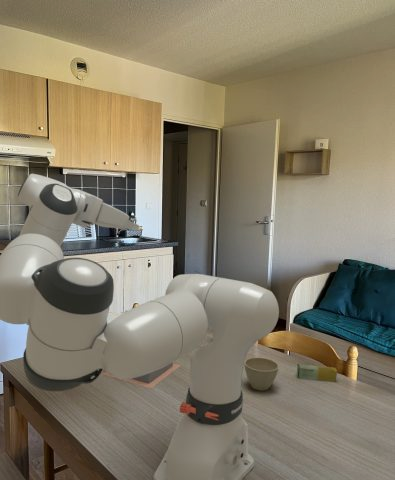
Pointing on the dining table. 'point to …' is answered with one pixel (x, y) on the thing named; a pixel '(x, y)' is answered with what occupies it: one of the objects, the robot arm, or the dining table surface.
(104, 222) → the robot arm
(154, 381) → the mat
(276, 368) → the flower pot
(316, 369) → the medication box
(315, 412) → the dining table surface
